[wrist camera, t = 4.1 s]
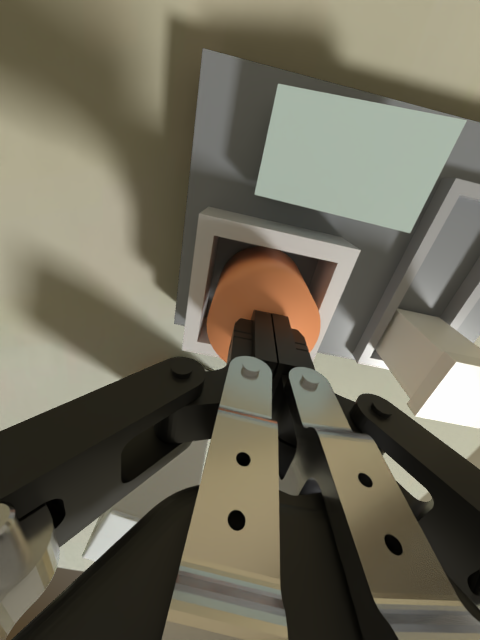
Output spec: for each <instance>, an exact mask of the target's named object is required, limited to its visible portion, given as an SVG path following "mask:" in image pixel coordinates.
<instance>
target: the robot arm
mask: <svg viewBox="0 0 480 640" xmlns="http://www.w3.org/2000/svg"><path fill="white" fill-rule="evenodd" d="M207 439H211V442H210V446H209V450H208V454H207V458H206V462H205V466H204V470H203V474H202V478H201V482H200V485H196V486H192V487H188V488H185V489H183V490H180V491H178V492H176V493H174V494H172V495H170V496H168V497H167V498H165V499H164V500H163V501H161V502H160V503H158V504H157V505H156V506H155V507H153V508H152V509H151V510H150V511H149V512H148V513H147V514H146V515H145V516H143V517H142V518H141V519H140V520H139V521H138V522H137V523H136V524H135V525H134V526H133V527H132V528H131V529H130V530H128V531H127V532H126V533H125V534H124V535H123V536H122V537H121V538H120V539H119V540H118V541H117V542H116V543H115V544H113V545H112V546H111V547H110V548H109V549H108V550H107V551H106V552H105V553H104V554H103V555H102V556H101V557H100V558H98V559H97V560H96V561H95V562H94V563H93V564H92V565H91V566H90V567H89V568H88V569H87V570H86V571H85V572H83V573H82V575H80V576H79V577H78V578H77V579H76V580H75V581H74V582H73V583H72V584H71V585H70V586H68V587H67V588H66V589H65V590H64V591H63V592H62V593H61V594H60V595H59V596H58V597H57V598H56V599H55V600H53V602H51V603H50V604H49V605H48V606H47V607H46V608H45V609H44V610H43V611H42V612H41V613H40V614H38V615H37V617H35V618H34V619H33V620H32V621H31V622H30V623H29V624H28V625H27V626H26V627H25V628H23V630H21V631H20V632H19V633H18V634H17V635H16V636H15V637H14V638H13V639H12V640H480V470H479V469H478V468H477V467H475V466H474V465H473V464H472V463H470V462H469V461H468V460H466V459H465V458H464V457H462V456H461V455H460V454H458V453H457V452H456V451H454V450H453V449H452V448H450V447H449V446H448V445H446V444H445V443H444V442H442V441H441V440H439V439H438V438H437V437H435V436H434V435H433V434H431V433H430V432H429V431H427V430H426V429H425V428H423V427H422V426H421V425H419V424H418V423H417V422H415V421H414V420H413V419H411V418H410V417H409V416H407V415H406V414H405V413H403V412H402V411H401V410H399V409H398V408H397V407H395V406H394V405H393V404H391V403H390V402H388V401H387V400H385V399H383V398H381V397H379V396H376V395H373V394H362V395H360V396H359V397H358V398H357V400H356V402H354V401H351V400H349V399H346V398H344V397H342V396H339V395H337V394H335V393H334V392H333V389H332V387H331V385H330V383H329V381H328V380H327V379H326V378H325V377H324V376H323V375H322V374H320V373H319V372H317V371H315V368H314V365H313V362H312V359H311V356H310V353H309V350H308V347H307V344H306V341H305V337H304V336H303V335H302V334H301V333H300V332H299V331H298V330H297V329H292V328H291V326H290V322H289V318H288V316H283V315H278V314H273V313H268V312H263V311H259V310H254V311H253V314H252V317H251V320H248V319H243V318H240V319H239V320H238V321H237V322H235V325H234V329H233V333H232V338H231V342H230V346H229V351H228V357H227V365H226V367H224V368H222V369H219V370H215V371H205V370H204V368H203V366H202V365H201V364H200V363H198V362H197V361H195V360H193V359H190V358H185V357H175V358H170V359H167V360H165V361H163V362H160V363H158V364H156V365H153V366H151V367H149V368H146V369H144V370H142V371H139V372H137V373H135V374H132V375H130V376H128V377H125V378H123V379H121V380H118V381H116V382H114V383H111V384H109V385H107V386H104V387H102V388H100V389H97V390H95V391H93V392H91V393H88V394H86V395H84V396H81V397H79V398H77V399H74V400H72V401H70V402H67V403H65V404H63V405H60V406H58V407H56V408H53V409H51V410H49V411H46V412H44V413H42V414H39V415H37V416H35V417H32V418H30V419H28V420H25V421H23V422H21V423H18V424H16V425H14V426H11V427H9V428H7V429H5V430H2V431H0V640H5V639H6V637H7V635H8V634H9V632H10V631H11V629H12V628H13V626H14V625H15V623H16V622H17V621H18V619H19V618H20V617H21V616H22V615H23V613H24V612H25V611H26V610H27V609H28V608H29V607H30V606H31V605H32V604H33V603H34V602H35V601H36V600H37V599H38V598H39V597H40V596H41V594H42V593H43V592H44V591H45V589H46V587H47V586H48V584H49V583H50V581H51V579H52V577H53V575H54V573H55V571H56V568H57V565H58V561H59V553H60V550H59V547H61V546H62V545H63V544H65V543H66V542H67V541H68V540H70V539H71V538H72V537H74V536H75V535H76V534H77V533H79V532H80V531H81V530H83V529H84V528H85V527H87V526H88V525H89V524H90V523H92V522H93V521H94V520H96V519H97V518H98V517H99V516H101V515H102V514H103V513H105V512H106V511H107V510H108V509H110V508H111V507H112V506H114V505H115V504H116V503H117V502H119V501H120V500H121V499H123V498H124V497H125V496H127V495H128V494H129V493H130V492H132V491H133V490H134V489H136V488H137V487H138V486H139V485H141V484H142V483H143V482H145V481H146V480H147V479H148V478H150V477H151V476H152V475H154V474H155V473H156V472H158V471H159V470H160V469H161V468H163V467H164V466H165V465H167V464H168V463H169V462H170V461H172V460H173V459H174V458H176V457H177V456H178V455H179V454H181V453H182V452H183V451H185V450H186V449H187V448H188V447H189V446H190V445H191V443H192V441H199V440H207ZM385 452H386V453H387V454H388V455H389V456H390V457H391V458H392V459H393V460H395V461H396V462H397V463H398V464H399V465H400V466H401V467H402V468H404V469H405V470H406V471H407V472H408V473H409V474H410V475H411V476H413V477H414V478H415V479H416V480H417V481H418V482H419V483H420V484H422V485H423V486H424V487H425V488H426V489H427V490H428V491H429V493H430V494H431V496H432V499H431V501H429V502H422V501H419V500H417V499H416V498H414V497H413V496H412V495H411V494H410V493H409V492H408V491H406V490H405V489H404V488H403V487H402V486H401V485H400V484H399V483H398V482H397V481H396V480H395V479H394V477H393V475H392V473H391V471H390V469H389V467H388V465H387V464H386V462H385V460H384V458H383V456H382V455H383V454H384V453H385Z"/></svg>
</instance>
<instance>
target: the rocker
mask: <svg viewBox="0 0 480 640" xmlns="http://www.w3.org/2000/svg"><path fill="white" fill-rule="evenodd" d="M466 121H467V120H463V119H458V118H453V117H448V116H442V115H437V114H432V113H427V112H422V111H417V110H411V109H406V108H401V107H396V106H391V105H386V104H381V103H375V102H370V101H365V100H360V99H355V98H350V97H344V96H339V95H334V94H329V93H324V92H319V91H313V90H308V89H303V88H298V87H293V86H288V85H283V84H278V86H277V91H276V96H275V100H274V105H273V110H272V114H271V119H270V124H269V128H268V133H267V138H266V142H265V147H264V152H263V156H262V161H261V166H260V170H259V175H258V180H257V185H256V189H255V194H254V195H258V196H262V197H266V198H270V199H274V200H278V201H282V202H286V203H290V204H294V205H298V206H302V207H306V208H310V209H314V210H318V211H322V212H326V213H330V214H334V215H338V216H342V217H346V218H350V219H354V220H359V221H363V222H367V223H371V224H375V225H379V226H383V227H387V228H391V229H395V230H399V231H403V232H407V233H411V231H412V229H413V227H414V225H415V223H416V221H417V219H418V217H419V215H420V213H421V211H422V209H423V207H424V205H425V203H426V201H427V199H428V197H429V195H430V193H431V191H432V189H433V187H434V185H435V183H436V181H437V179H438V177H439V175H440V173H441V171H442V169H443V167H444V165H445V163H446V161H447V159H448V157H449V155H450V153H451V151H452V149H453V147H454V145H455V143H456V141H457V139H458V137H459V135H460V133H461V131H462V129H463V127H464V125H465V123H466Z"/></svg>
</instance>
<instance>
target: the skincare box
mask: <svg viewBox="0 0 480 640" xmlns="http://www.w3.org/2000/svg"><path fill="white" fill-rule="evenodd" d="M204 370H205V371H208V370H206V369H204ZM207 443H208V439H207V440H199V441H192V443H191V445H190V446H189V447H188V448H187V449H186V450H185V451H183V452H182V453H181V454H179V455H178V456H177V457H176V458H174V459H173V460H172V461H170V462H169V463H168V464H167V465H165V466H164V467H163V468H161V469H160V470H159V471H158V472H156V473H155V474H154V475H152V476H151V477H150V478H148V479H147V480H146V481H145V482H143V483H142V484H141V485H139V486H138V487H137V488H136V489H134V490H133V491H132V492H130V493H129V494H128V495H127V496H125V497H124V498H123V499H121V500H120V501H119V502H117V503H116V504H115V505H114V506H112V507H111V508H110V509H108V510H107V511H106V512H105V513H103V514H102V515H101V516H100V517H99V519H98V521H97V523H96V525H95V528H94V530H93V532H92V534H91V537H90V539H89V541H88V543H87V546H86V548H85V550H84V552H83V555H82V557H83V558H84V559H88V560H91V561H96V560H97V559H98V558H100V557H101V556H102V555H103V554H104V553H105V552H106V551H107V550H108V549H109V548H110V547H111V546H112V545H113V544H115V543H116V542H117V541H118V540H119V539H120V538H121V537H122V536H123V535H124V534H125V533H126V532H127V531H128V530H130V529H131V528H132V527H133V526H134V525H135V524H136V523H137V522H138V521H139V520H140V519H141V518H142V517H143V516H145V515H146V514H147V513H148V512H149V511H150V510H151V509H152V508H153V507H155V506H156V505H157V504H158V503H160V502H161V501H163V500H164V499H165V498H167V497H168V496H170V495H172V494H174V493H176V492H178V491H180V490H183V489H185V488H188V487H192V486H196V485H200V482H201V477H202V471H203V466H204V460H205V455H206V448H207Z"/></svg>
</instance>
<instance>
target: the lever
mask: <svg viewBox="0 0 480 640" xmlns="http://www.w3.org/2000/svg"><path fill="white" fill-rule="evenodd" d="M375 350H376V351H377V353H378V354H379V356H380V357H381V358H382V360H383V361H384V363H385V364H386V366H387V367H388V368H389V370H390V371H391V373H392V374H393V375H394V377H395V378H396V380H397V381H398V382H399V384H400V385H401V387H402V388H403V389H404V391H405V392H406V394H407V395H408V397H409V398H410V400H409V401H408V403H407V405H408V407H409V408H410V410H411V411H412V413H413V414H414V415H415V416H416V417H421V418H427V419H432V420H437V421H442V422H448V423H453V424H458V425H464V426H469V427H474V428H480V348H479V347H478V346H476V345H475V344H474V343H472V342H471V341H470V340H468V339H467V338H466V337H464V336H463V335H462V334H460V333H459V332H458V331H457V330H455V329H454V328H453V327H451V326H450V325H449V324H447V323H446V322H445V321H443V320H442V319H441V318H439V317H435V316H430V315H426V314H421V313H416V312H412V311H407V310H402V309H398V308H397V310H396V311H395V313H394V315H393V317H392V319H391V321H390V322H389V324H388V326H387V328H386V330H385V331H384V333H383V335H382V337H381V339H380V340H379V342H378V344H377V346H376V348H375Z"/></svg>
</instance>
